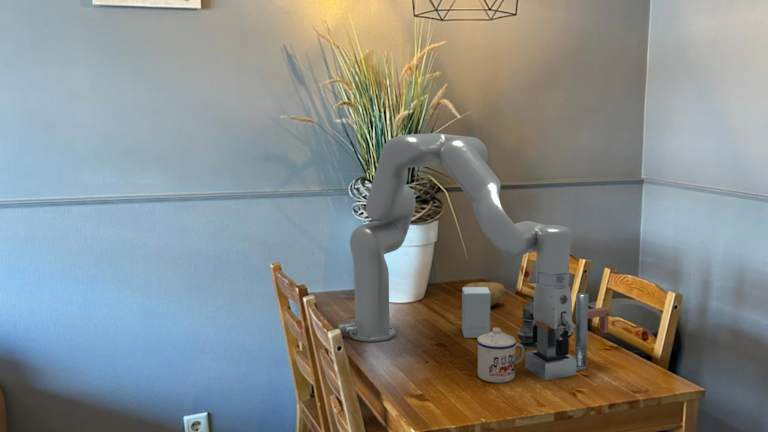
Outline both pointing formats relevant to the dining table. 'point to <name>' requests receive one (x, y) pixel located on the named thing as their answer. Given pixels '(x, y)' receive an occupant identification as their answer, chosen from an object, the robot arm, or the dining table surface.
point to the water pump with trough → (570, 363)
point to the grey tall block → (546, 342)
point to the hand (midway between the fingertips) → (549, 348)
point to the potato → (491, 290)
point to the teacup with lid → (497, 356)
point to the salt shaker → (526, 330)
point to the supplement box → (475, 311)
